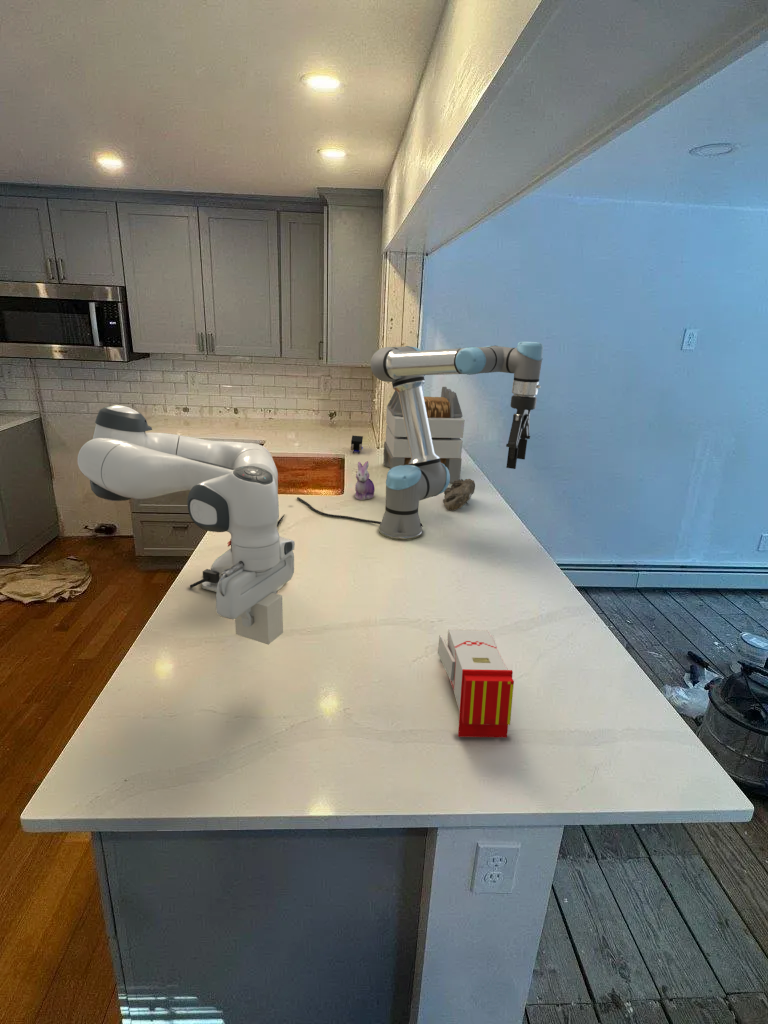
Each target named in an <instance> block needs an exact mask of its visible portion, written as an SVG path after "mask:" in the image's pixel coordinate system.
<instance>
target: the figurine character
mask: <svg viewBox="0 0 768 1024" xmlns="http://www.w3.org/2000/svg"><path fill="white" fill-rule="evenodd" d="M363 439H364V436H363V435H351V441H350V451H352V454H355V453H357V454H360V451H362V450H363V449H364V447H363Z"/></svg>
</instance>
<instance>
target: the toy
mask: <svg viewBox="0 0 768 1024" xmlns="http://www.w3.org/2000/svg"><path fill="white" fill-rule="evenodd" d="M446 640H447V643H446V641H445V639H444V636H443V635H442V634H439V637H438V646H437V656H438V657H439V659H440V661H441V663H442V666H443V668H444V670H445V672H446V674H447V677H448V679H449V681H450V684H451V687H452V690H453V693H454V697H455V701H456V705H457V708H458V711H459V714H458V715H459V716H458V730H457V731H458V732H457V737H458V738H508V731H509V726H510V725H511V717H512V707H513V697H514V696H513V695H514V684H515V680H514V679H513V673H514V671H513V670H512V669H508V667H507V665H506V662H505V661H504V659H503V658H502V655H501V653H500V651H499V649H498V647H497V643H496V639H495V637H494V635H493V634H491V632H490V631H489V629H467V628H466V629H465V628H463V629H461V628H460V629H459V628H448V630H447V639H446Z"/></svg>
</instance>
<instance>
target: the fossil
mask: <svg viewBox="0 0 768 1024" xmlns="http://www.w3.org/2000/svg"><path fill="white" fill-rule="evenodd" d="M475 490H476V483H475V480H473V479H471V478H466V479H463V478H460V480H454V482H453V483H451V486H450V487H447V489H446V490H445V491H444V492H443V494H444V498H443V499H442V502H443V503H444V507H445V508H446V509H447V510H448V511H456V510H458V509H462V507H463V506H465V505H468V504H469V503H468V502H469V501H470V500H471V497H472V496H473V495H474V494H475Z"/></svg>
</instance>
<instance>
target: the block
mask: <svg viewBox="0 0 768 1024" xmlns="http://www.w3.org/2000/svg"><path fill="white" fill-rule="evenodd" d="M283 609H284V608H283V595H281V594H278V593H277V594H275V593H271V594H269V595H268V596H267V597H265V598H264V599H262V600H261V601H259V602H258V603H257V604H255V605H254V606H252V607H251V611H250V612H249V614H250V616H254V624H253V625H251V626H250V627H245V626H243V624H242V618H241V616H238V617H237V618H235V619H234V624H235V635H236V636H240V637H243V638H246V639H249V640H252V641H256V642H258V643H261V644H264V645H268V646H269V645H270V644H271V643H273V642H274V641H275V640H276V639H277V638H279V637H280V636H281V635H283V633H284V617H283V616H284V615H283V614H284V612H283Z"/></svg>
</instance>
